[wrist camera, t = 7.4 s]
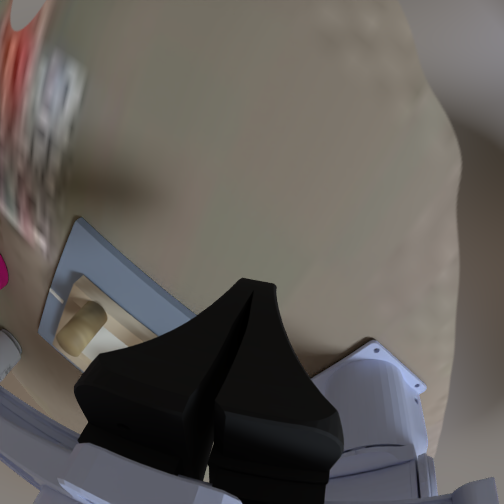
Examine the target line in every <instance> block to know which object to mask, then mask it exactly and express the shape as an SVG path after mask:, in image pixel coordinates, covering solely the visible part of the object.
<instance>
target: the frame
mask: <svg viewBox="0 0 504 504" xmlns="http://www.w3.org/2000/svg"><path fill="white" fill-rule="evenodd" d="M156 337H158V336H157V335H156V334H154V333H153V332H152V331H150V330H149V329H148V328H146V327H145V326H144V325H143V324H141V323H140V322H139V321H137V320H136V319H135V318H134V317H132V316H131V315H130V314H129V313H127V312H126V311H125V310H124V309H123V308H121V307H120V306H119V305H118V304H116V303H115V302H114V301H113V300H112V299H110V298H109V297H108V296H107V295H106V294H105V293H103V292H102V291H101V290H100V289H99V288H98V287H96V286H95V285H94V284H93V283H92V282H91V281H90V280H89V279H87V278H86V277H85V276H84V275H83V276H82V277H80V278H79V279H78V280H77V281H76V282H75V283H74V284H73V287H72V289H71V292H70V294H69V297H68V300H67V303H66V305H65V308H64V311H63V314H62V316H61V319H60V322H59V325H58V328H57V331H56V334H55V338H54V341H53V344H52V345H53V346H54V347H55V348H56V349H58V350H59V351H60V352H61V353H62V354H63V355H64V356H66V357H67V358H68V359H69V360H70V361H71V362H73V363H74V364H75V365H76V366H77V367H79V368H80V369H81V370H82V371H84V372H85V370H86V369H87V367H88V366H89V365H90V363H91V362H92V361H93V360H94V359H95V358H96V357H97V356H98V354H99V353H105V352H109V351H114V350H118V349H122V348H126V347H130V346H133V345H136V344H140V343H143V342H145V341H148V340H151V339H153V338H156Z"/></svg>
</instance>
